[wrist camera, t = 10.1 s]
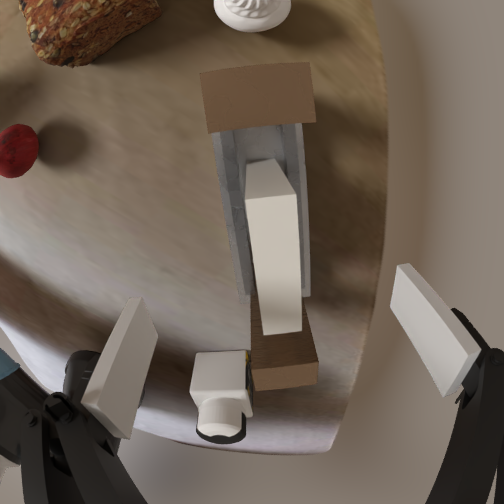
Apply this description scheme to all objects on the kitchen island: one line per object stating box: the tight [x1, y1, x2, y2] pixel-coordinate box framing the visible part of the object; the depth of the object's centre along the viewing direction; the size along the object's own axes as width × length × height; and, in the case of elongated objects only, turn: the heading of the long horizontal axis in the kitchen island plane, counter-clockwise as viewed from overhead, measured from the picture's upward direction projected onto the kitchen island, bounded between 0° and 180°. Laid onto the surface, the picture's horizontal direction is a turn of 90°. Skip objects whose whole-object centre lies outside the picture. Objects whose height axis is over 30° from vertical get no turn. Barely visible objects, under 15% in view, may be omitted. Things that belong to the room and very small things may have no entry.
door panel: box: [245, 158, 302, 335], centre depth 21 cm, size 9×2×12 cm, turn 7°
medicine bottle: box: [190, 350, 253, 444], centre depth 32 cm, size 7×7×12 cm
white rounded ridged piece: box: [214, 0, 291, 33], centre depth 15 cm, size 6×6×7 cm
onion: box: [0, 124, 39, 178], centre depth 19 cm, size 6×6×8 cm
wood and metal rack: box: [200, 62, 319, 391], centre depth 21 cm, size 22×8×13 cm, turn 7°
